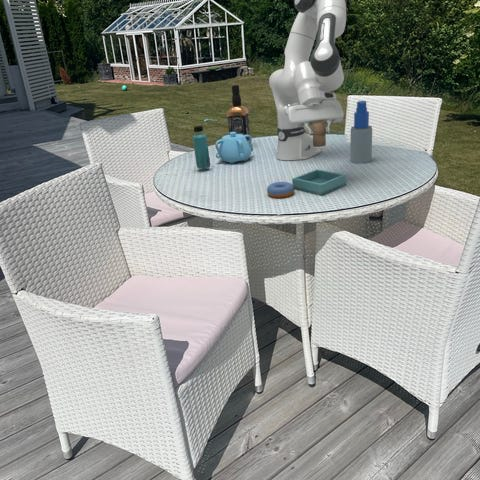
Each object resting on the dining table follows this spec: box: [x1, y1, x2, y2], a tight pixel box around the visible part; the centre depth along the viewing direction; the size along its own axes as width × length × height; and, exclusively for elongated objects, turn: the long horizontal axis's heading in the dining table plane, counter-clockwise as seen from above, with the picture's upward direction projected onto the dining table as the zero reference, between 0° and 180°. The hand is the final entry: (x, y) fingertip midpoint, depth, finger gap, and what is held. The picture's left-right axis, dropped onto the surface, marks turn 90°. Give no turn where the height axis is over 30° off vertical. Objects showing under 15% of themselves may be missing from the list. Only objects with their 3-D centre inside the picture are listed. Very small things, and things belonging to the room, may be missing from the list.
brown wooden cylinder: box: [311, 122, 327, 148], centre depth 160 cm, size 4×4×8 cm
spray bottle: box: [349, 100, 373, 165], centre depth 190 cm, size 9×9×25 cm
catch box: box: [291, 169, 347, 196], centre depth 168 cm, size 14×14×4 cm
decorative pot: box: [214, 132, 254, 165], centre depth 214 cm, size 16×16×14 cm
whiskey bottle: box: [226, 84, 253, 147], centre depth 232 cm, size 10×10×32 cm
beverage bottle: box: [192, 125, 211, 170], centre depth 202 cm, size 6×7×20 cm
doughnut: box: [266, 181, 295, 199], centre depth 165 cm, size 10×10×5 cm
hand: (319, 133), depth 160 cm, fingers closed on brown wooden cylinder, 4 cm apart
